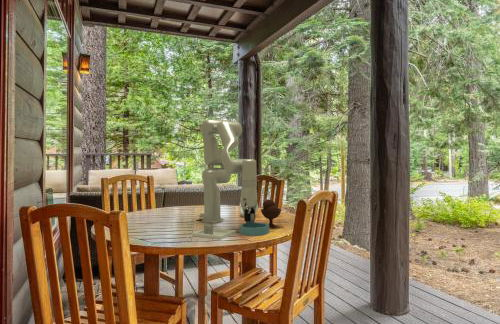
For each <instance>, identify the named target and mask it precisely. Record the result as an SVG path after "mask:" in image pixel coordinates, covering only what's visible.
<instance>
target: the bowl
mask: <svg viewBox="0 0 500 324" xmlns="http://www.w3.org/2000/svg"><path fill="white" fill-rule="evenodd" d="M268 224H269V223H265V222H255V221H254V223H251V224H248V223H246V222H244V223H241V224H239V225H238V232H239V233H240V234H241V235H244V236H251V237H254V236H264V235H267V234H269V233H270V228H269V225H268Z"/></svg>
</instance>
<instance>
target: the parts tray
mask: <svg viewBox="0 0 500 324" xmlns="http://www.w3.org/2000/svg"><path fill="white" fill-rule="evenodd" d="M235 234H236V235H237V230H235V229H227V228H216V227H213V234H212V235H211V234H204V228H203V229H201V230H198V231H195V232H192V237H195V238H206V239H213V240H223V239H226V238H228V237H230V236H233V235H235Z"/></svg>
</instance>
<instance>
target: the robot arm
mask: <svg viewBox="0 0 500 324" xmlns="http://www.w3.org/2000/svg"><path fill="white" fill-rule="evenodd" d="M200 133H201V137H202V142H203V160H204V163H205V165H206V166H219V167H208V168H205V169H203V171H202V173H201V179H202V184H203V211H204V212H203V213H200V214H199V218H202V219H201V222H202V223H205V224H217V223H222V222H224V219H223V218H222V217H221V189H220V188H219V187H218V184H228V183H229V182H230V181H231V178H232V175H234V174H241V189H240V190H241V191H240V208H241V207H242V209H243V211H244V217H243V218H244V222H246V221H249V222H250V221H251V215H250V213H254V221H256V213H255V211H256V206H257V204H258V189H257V187H258V182H257V181H258V180H257V179H258V178H257V177H258V174H257V171H258V169H257V160H256V159H247V158H231V154H230V152H232V151H234V150H235V149H236V148H238V147H239V144H240V143H239V138H238V137H241V135H242V134H243V126H242V125H241V123H240V122H239V121H234V120H229V119H215V118H214V119H213V118H212V119H205V120H204V121H202V123H201V126H200ZM215 135H219V138H220V141H221V143H222V146H223V148H221V149H219V141H218V139H217V137H216V136H215ZM246 206H248V207H246ZM251 207H252V208H251ZM247 208H248V209H247ZM250 211H251V212H250Z"/></svg>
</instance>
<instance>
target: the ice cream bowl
mask: <svg viewBox="0 0 500 324" xmlns="http://www.w3.org/2000/svg"><path fill="white" fill-rule="evenodd" d="M262 203H263V204H262V205H263V208H261V209H260V213H261V214H262V216H263V217H264V218H266V219H268V222H269V223H267V224H268V225H269V229H274V228H276V227H277V226H276V224H274V223H273V221H274V219H277V218H278V217H279V216H280V215H281V213H282V209H281V208H278V204H277V203H275V201H274V200H273V199H265V200H264V202H262Z"/></svg>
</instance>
